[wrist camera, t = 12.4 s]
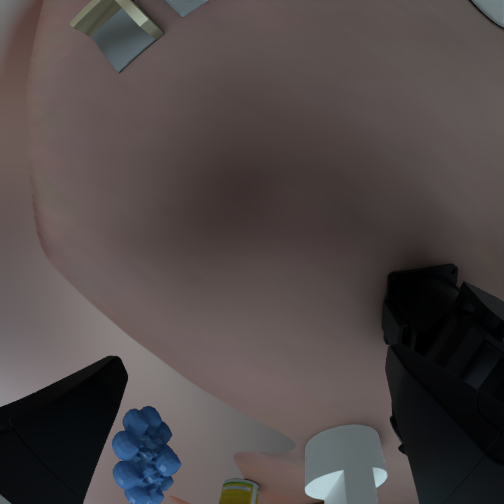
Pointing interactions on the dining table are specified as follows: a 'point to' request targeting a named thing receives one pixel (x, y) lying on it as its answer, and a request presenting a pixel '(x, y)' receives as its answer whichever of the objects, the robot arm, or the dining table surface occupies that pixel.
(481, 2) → the wine bottle
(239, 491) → the supplement bottle
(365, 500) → the cylinder with rectangular tab
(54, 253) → the dining table surface
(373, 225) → the dining table surface
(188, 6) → the grey block
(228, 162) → the dining table surface
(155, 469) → the grapes
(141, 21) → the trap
